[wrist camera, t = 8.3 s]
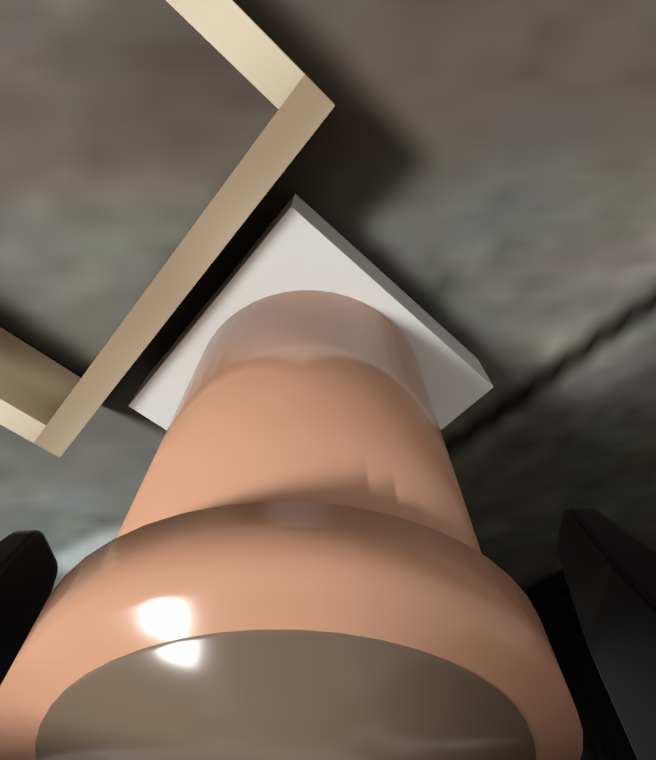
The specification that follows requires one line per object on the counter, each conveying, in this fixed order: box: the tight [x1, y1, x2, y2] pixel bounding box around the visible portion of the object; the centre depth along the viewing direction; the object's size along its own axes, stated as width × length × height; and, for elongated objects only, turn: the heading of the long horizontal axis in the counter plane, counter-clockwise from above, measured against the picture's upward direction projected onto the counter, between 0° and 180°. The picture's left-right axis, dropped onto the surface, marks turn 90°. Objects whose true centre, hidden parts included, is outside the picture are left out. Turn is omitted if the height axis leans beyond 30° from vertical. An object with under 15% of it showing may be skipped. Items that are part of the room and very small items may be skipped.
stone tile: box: [128, 194, 493, 430], centre depth 13 cm, size 6×6×2 cm
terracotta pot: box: [0, 290, 583, 760], centre depth 9 cm, size 6×6×8 cm
